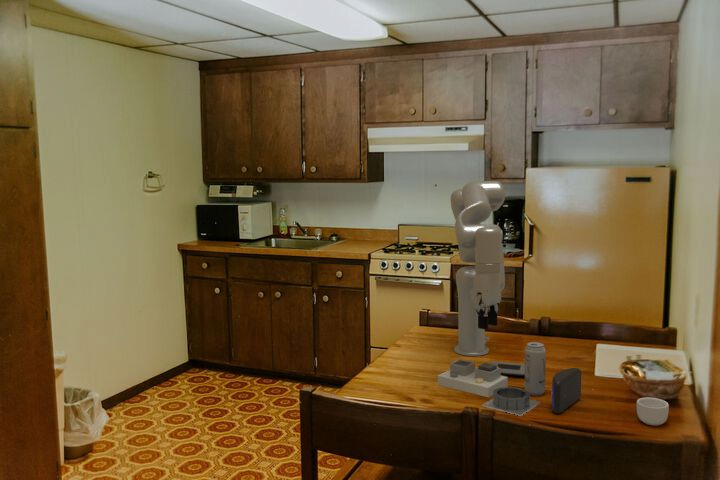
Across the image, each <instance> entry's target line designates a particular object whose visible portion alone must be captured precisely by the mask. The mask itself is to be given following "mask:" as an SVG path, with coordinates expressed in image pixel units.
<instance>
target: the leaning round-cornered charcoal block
mask: <svg viewBox="0 0 720 480" xmlns="http://www.w3.org/2000/svg"><path fill="white" fill-rule="evenodd" d="M551 382H552V383H551V387H552V388H551V389H552V390H551V392H550V394H551V409H552V411H553V412H554V413H555V414H561V413H563V412H564V411H565V410H566V409H568V408H569V407H570V406H572V405H573V404H574V403H575V402H577V401H578V400H579V399H580V398H581V395H582V370H581V369H580V368H579V367H571V368H567V369H563V370H559V371H558V372H557V373H555V374H554V375H553V377H552V381H551Z"/></svg>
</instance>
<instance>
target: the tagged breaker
mask: <svg viewBox="0 0 720 480" xmlns="http://www.w3.org/2000/svg"><path fill="white" fill-rule="evenodd" d="M478 367H479V370H484V371H488V372H492V371H493V370H495V369H497V365H494V364H490V363H489V362H484V363H482V364H480V365H478Z"/></svg>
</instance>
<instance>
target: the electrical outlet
mask: <svg viewBox="0 0 720 480" xmlns="http://www.w3.org/2000/svg"><path fill="white" fill-rule="evenodd" d="M489 364H494V365H497V366H498V368H501V376H515V377H524V378H525V363H518V362H517V363H516V362H515V363H514V362H505V361H492V360H490V363H489Z"/></svg>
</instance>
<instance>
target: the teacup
mask: <svg viewBox="0 0 720 480" xmlns="http://www.w3.org/2000/svg"><path fill="white" fill-rule="evenodd" d="M669 407H670V405H669V403H668V402H667V401H665V400H664V399H660V398H657V397H641V398H638V399H637V400H636V414H637V417H638V418H639V420H640V421H641V422H643V424H646V425H649V426H657V427H658V426H660V425H663V424H664V423H665V422H666V421H667V420H668V415H669V409H670V408H669Z"/></svg>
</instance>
